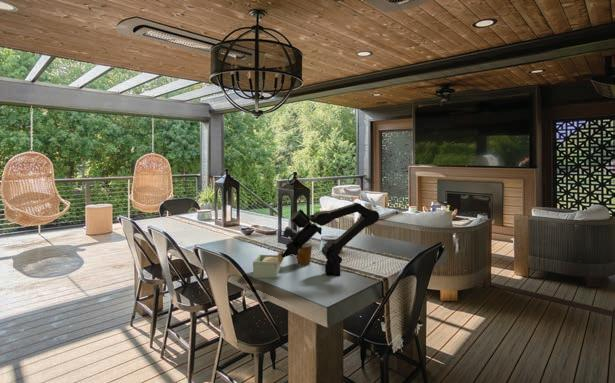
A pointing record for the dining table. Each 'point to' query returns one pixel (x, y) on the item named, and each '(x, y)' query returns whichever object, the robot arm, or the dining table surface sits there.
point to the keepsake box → (265, 268)
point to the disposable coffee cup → (304, 254)
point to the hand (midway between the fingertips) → (282, 256)
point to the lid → (275, 259)
